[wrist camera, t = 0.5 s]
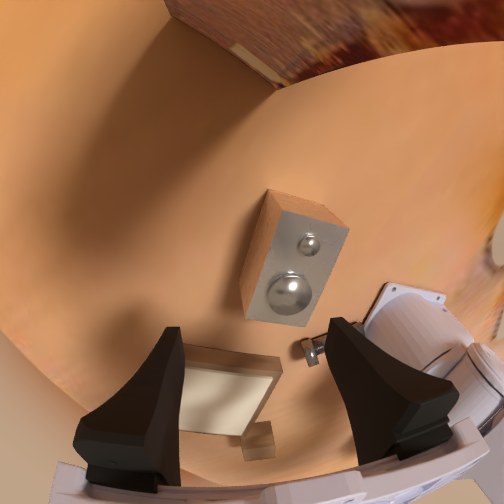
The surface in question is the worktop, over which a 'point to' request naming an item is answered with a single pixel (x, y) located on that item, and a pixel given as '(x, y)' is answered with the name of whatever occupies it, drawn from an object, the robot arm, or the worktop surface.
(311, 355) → the loose bolt
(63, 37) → the worktop surface
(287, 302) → the housing
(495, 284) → the worktop surface
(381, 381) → the robot arm
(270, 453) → the walnut block
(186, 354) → the stand
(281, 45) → the book
